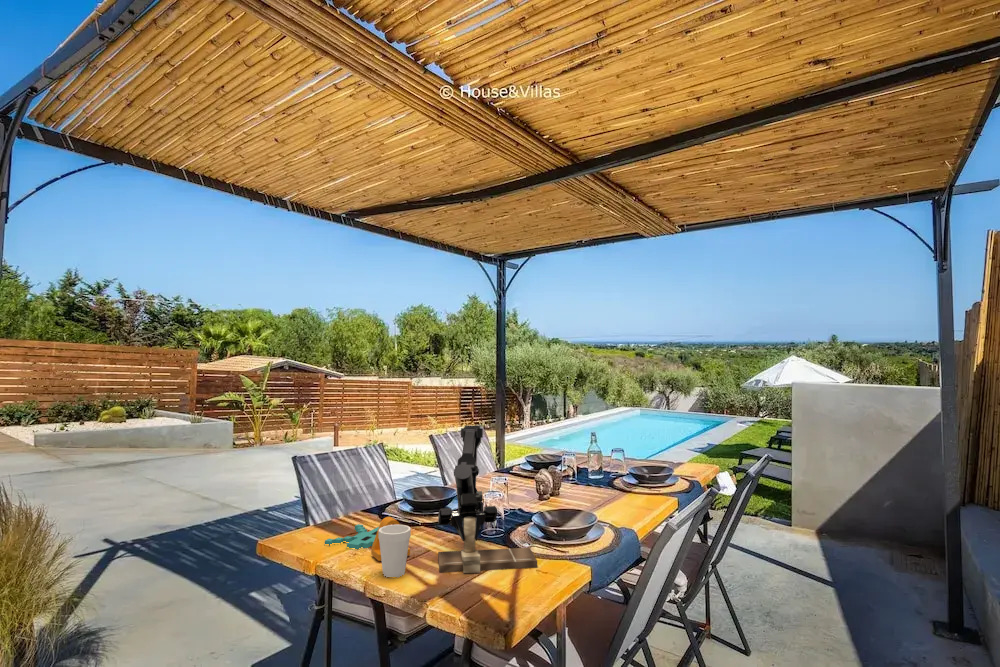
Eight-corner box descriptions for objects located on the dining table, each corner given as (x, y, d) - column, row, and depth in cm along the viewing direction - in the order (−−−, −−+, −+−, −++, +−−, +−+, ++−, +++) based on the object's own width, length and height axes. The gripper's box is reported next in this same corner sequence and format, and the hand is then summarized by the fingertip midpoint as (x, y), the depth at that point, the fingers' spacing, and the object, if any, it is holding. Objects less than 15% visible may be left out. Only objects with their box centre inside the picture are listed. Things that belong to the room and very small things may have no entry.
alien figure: (324, 547, 183) (375, 554, 176) (324, 540, 183) (375, 547, 176) (358, 530, 202) (404, 535, 195) (358, 524, 202) (404, 529, 195)
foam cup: (371, 575, 157) (372, 530, 158) (393, 565, 165) (394, 522, 165) (394, 582, 152) (395, 536, 153) (416, 572, 159) (417, 528, 160)
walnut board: (439, 572, 159) (439, 565, 159) (438, 558, 171) (438, 551, 171) (537, 567, 164) (537, 560, 164) (529, 553, 175) (529, 547, 176)
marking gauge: (463, 573, 158) (463, 526, 159) (460, 560, 168) (461, 516, 169) (480, 572, 159) (480, 525, 160) (476, 560, 169) (476, 516, 170)
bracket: (378, 563, 166) (379, 524, 167) (371, 556, 172) (371, 519, 173) (410, 557, 172) (411, 519, 173) (402, 550, 178) (403, 514, 179)
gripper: (439, 483, 170) (442, 528, 159) (496, 481, 174) (503, 525, 162) (437, 502, 177) (439, 547, 166) (492, 499, 181) (498, 543, 170)
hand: (470, 540), depth 166 cm, fingers closed on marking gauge, 4 cm apart
